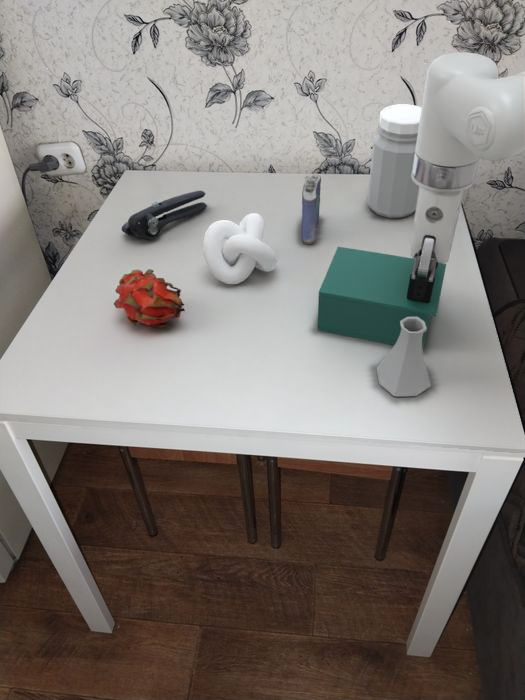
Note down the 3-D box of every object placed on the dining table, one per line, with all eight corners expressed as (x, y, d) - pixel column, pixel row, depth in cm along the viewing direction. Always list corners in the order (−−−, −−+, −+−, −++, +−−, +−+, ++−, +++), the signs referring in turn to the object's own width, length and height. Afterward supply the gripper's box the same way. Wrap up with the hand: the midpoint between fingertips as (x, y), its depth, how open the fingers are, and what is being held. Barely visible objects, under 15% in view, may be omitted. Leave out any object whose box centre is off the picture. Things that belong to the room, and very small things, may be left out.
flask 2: (314, 245, 105) (316, 190, 97) (298, 244, 105) (298, 189, 98) (320, 217, 111) (322, 164, 104) (305, 216, 111) (305, 163, 104)
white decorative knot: (293, 264, 101) (293, 218, 95) (253, 302, 94) (251, 255, 88) (240, 244, 106) (236, 199, 99) (198, 279, 99) (191, 234, 92)
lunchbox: (432, 301, 92) (440, 265, 88) (422, 350, 85) (430, 315, 80) (335, 284, 96) (337, 249, 92) (317, 330, 89) (318, 295, 84)
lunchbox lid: (445, 266, 87) (451, 240, 84) (436, 316, 80) (442, 289, 77) (337, 249, 92) (339, 223, 88) (318, 294, 84) (319, 268, 81)
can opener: (140, 251, 105) (134, 224, 101) (119, 235, 109) (113, 208, 105) (218, 213, 113) (215, 187, 109) (196, 200, 117) (193, 174, 113)
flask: (440, 390, 79) (454, 336, 72) (391, 404, 78) (400, 350, 71) (414, 354, 84) (425, 300, 77) (367, 367, 83) (374, 313, 76)
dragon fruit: (123, 309, 96) (186, 339, 93) (92, 312, 88) (159, 345, 85) (139, 260, 94) (203, 289, 91) (109, 259, 86) (178, 290, 83)
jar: (415, 223, 108) (431, 128, 96) (362, 216, 111) (371, 122, 98) (421, 197, 115) (437, 104, 102) (371, 191, 117) (381, 99, 105)
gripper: (470, 207, 65) (442, 327, 77) (481, 139, 76) (455, 252, 89) (401, 198, 67) (384, 316, 79) (423, 133, 78) (405, 244, 91)
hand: (422, 282), depth 84 cm, fingers open, 7 cm apart
